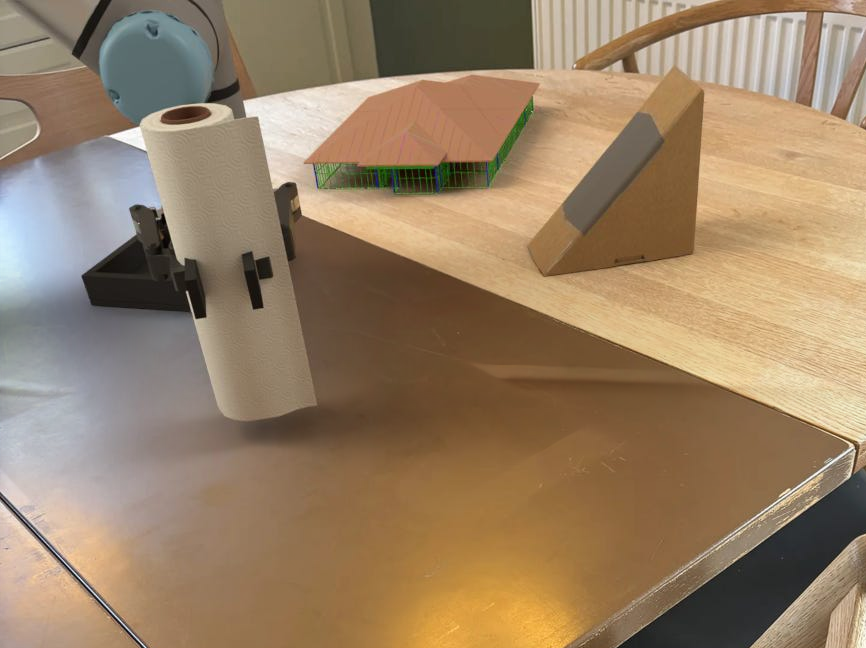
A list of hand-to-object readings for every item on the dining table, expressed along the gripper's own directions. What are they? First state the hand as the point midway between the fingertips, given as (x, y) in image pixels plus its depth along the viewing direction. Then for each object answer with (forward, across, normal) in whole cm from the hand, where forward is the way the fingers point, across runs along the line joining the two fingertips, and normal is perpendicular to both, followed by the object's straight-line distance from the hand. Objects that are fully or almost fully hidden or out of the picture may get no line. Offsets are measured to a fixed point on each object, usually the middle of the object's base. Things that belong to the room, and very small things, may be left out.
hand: (225, 294), depth 69 cm
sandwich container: (-28, -36, -14) cm, 48 cm away
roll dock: (-39, +6, -14) cm, 42 cm away
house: (-67, -25, -14) cm, 73 cm away
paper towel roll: (-5, 0, -12) cm, 13 cm away
